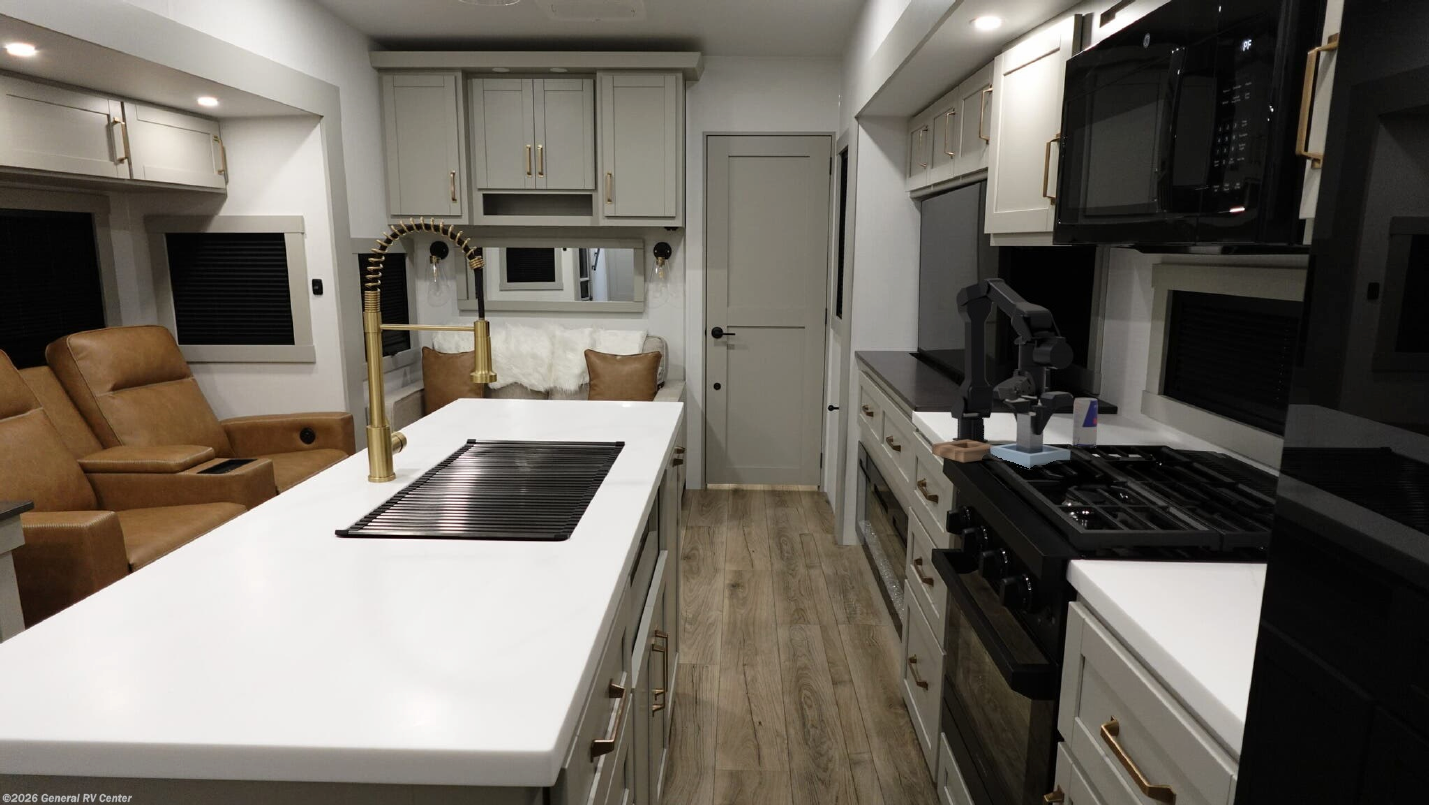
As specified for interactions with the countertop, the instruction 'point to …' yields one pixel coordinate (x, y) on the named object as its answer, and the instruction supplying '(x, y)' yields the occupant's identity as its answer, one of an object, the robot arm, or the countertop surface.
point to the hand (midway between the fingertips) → (1030, 433)
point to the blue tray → (1030, 455)
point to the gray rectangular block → (1028, 434)
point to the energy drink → (1085, 422)
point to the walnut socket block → (961, 450)
